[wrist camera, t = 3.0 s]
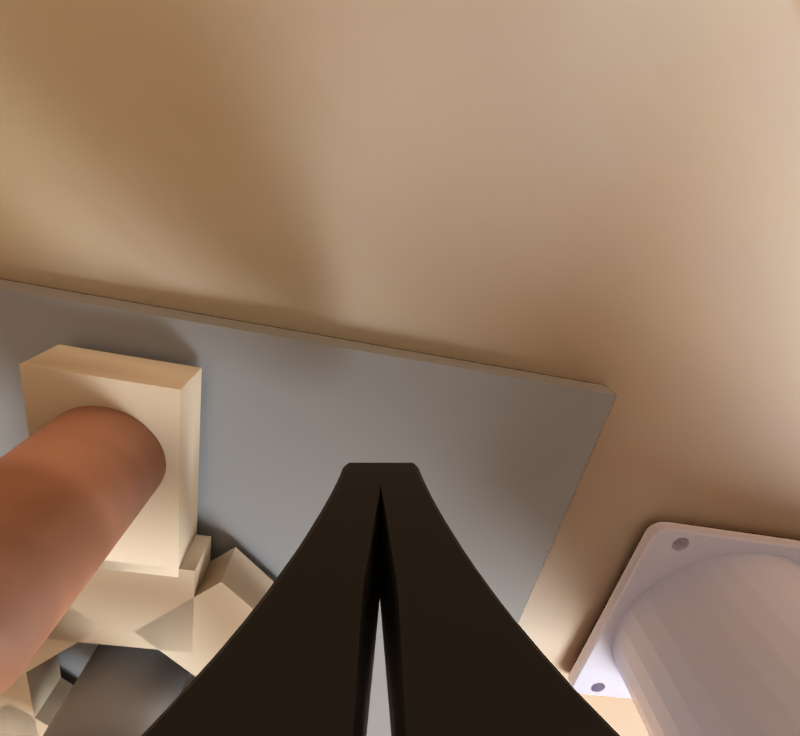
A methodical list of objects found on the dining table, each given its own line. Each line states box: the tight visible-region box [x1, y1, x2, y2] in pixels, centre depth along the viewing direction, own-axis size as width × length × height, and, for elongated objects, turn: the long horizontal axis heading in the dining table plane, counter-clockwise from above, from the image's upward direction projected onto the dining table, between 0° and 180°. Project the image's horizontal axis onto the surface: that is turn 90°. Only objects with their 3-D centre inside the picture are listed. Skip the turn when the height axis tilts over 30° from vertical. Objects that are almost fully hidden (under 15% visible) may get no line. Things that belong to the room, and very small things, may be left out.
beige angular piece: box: [0, 345, 274, 736], centre depth 11 cm, size 17×12×6 cm
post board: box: [0, 279, 616, 736], centre depth 13 cm, size 24×24×5 cm
